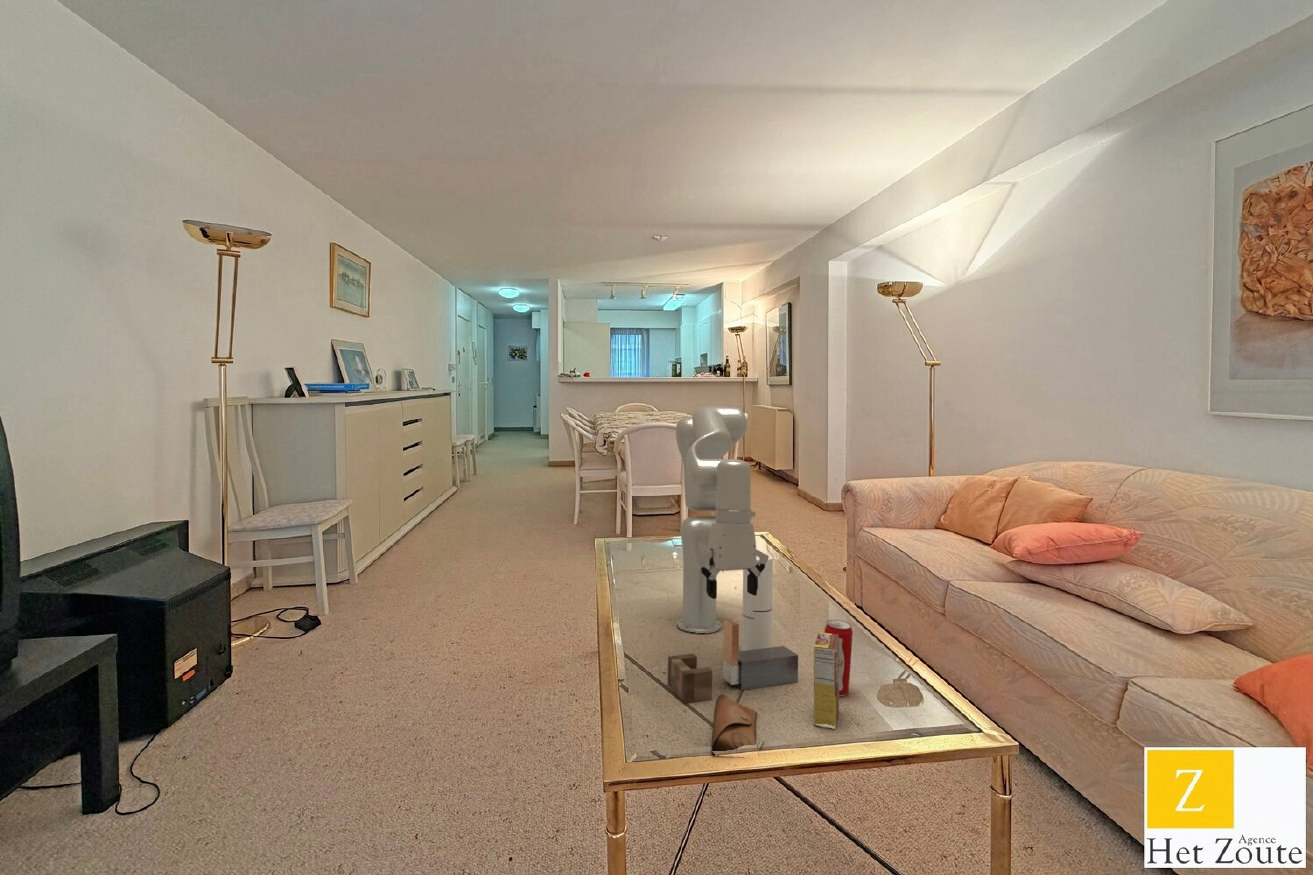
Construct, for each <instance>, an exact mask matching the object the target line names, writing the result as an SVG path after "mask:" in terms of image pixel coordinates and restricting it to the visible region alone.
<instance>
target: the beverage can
mask: <svg viewBox="0 0 1313 875" xmlns="http://www.w3.org/2000/svg"><path fill="white" fill-rule="evenodd" d="M823 633H830V634H837V635H838V652H839V696H842V697H845V695H846V694H847V695H848V694H849V691H850V680H851V679H850V677H851V676H850V675H851V664H852V651H853V650H852V649H853V648H852V647H853V633H854V632H853V629H852V625H851V623H850V622H847V621H845V620H841V619H829V620H827V621H826V624H825V627H824V631H823ZM847 695H846V696H847Z"/></svg>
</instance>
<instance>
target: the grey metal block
mask: <svg viewBox="0 0 1313 875" xmlns="http://www.w3.org/2000/svg"><path fill="white" fill-rule="evenodd" d="M738 662H739V663H740V664H741V684H735V686H736V687H737V688H739V689H740V690H741V691H746V690H753V689H754V690H755V689H759V688H767V687H773V686H774V687H775V686H780V685H787V684H794V683H798V682H799V681H798V680H799V654H798V653H796V652H794V651H792V650H791V649H789V648H788V647H786V646H784V645H782V646H781V645H779V646H774V647H771V648H763V649H755V650H747V651H742V650H740V651H738Z"/></svg>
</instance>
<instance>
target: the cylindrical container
mask: <svg viewBox="0 0 1313 875" xmlns="http://www.w3.org/2000/svg"><path fill="white" fill-rule="evenodd" d="M768 556H769V558H768V561H767V563H766V564H765V568H764V570H763V571H762V572H761V573H760V576H759V577H758V590H757V595H755V596H754V595H752V594H750V593H748V592H747V576H748V574H750V573H749V572H748V570H747V569H744V570H742V628H741V630H742V631H741V633H742V634H741V636H742V637H741V645H742V646H741V651H747V650H755V649H763V648H771V647H772V644H773V643H772V642H773V641H772V640H773V638H772V636H773V635H772V632H773V578H774V577H773V572H774V570H773V567H774V566H773V565H774V564H773V563H774V562H773V561H774V559H773V558H774V557H773V556H771V555H768ZM759 560H760V558H759V557H757V556H756V565H757V563H759ZM756 565H755V566H756Z"/></svg>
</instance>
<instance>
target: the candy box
mask: <svg viewBox="0 0 1313 875" xmlns="http://www.w3.org/2000/svg"><path fill="white" fill-rule="evenodd" d="M838 713H840V697H839V652H838V635H837V634H830V633H824V632H818V633H817V636H816V640H815V642H814V645H813V722H814V724H828V725H832V726H835V725H836V726H837V724H836V723H838V719H837V717H838V718H839V714H838ZM814 724H813V725H814Z"/></svg>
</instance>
